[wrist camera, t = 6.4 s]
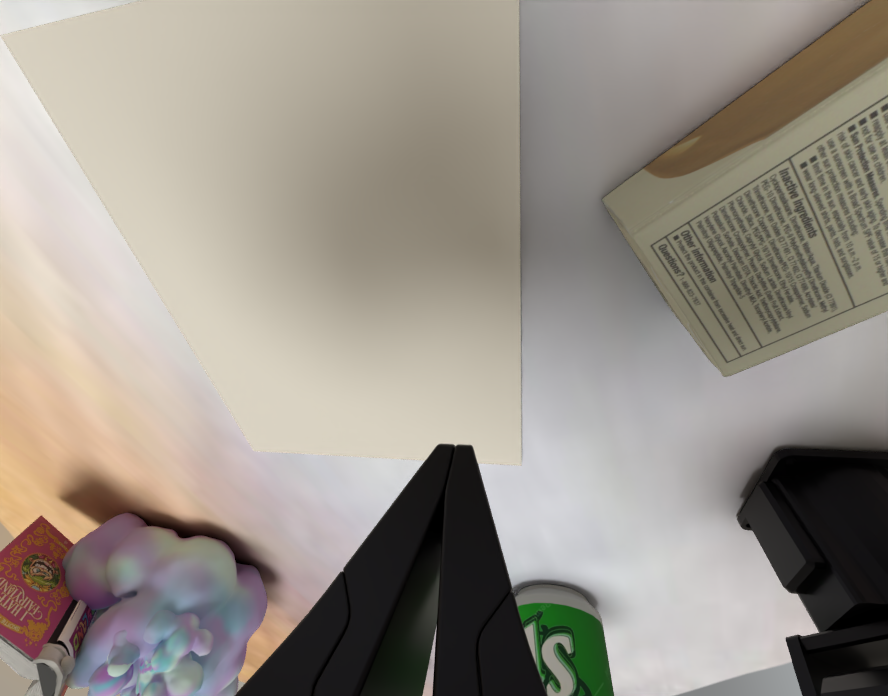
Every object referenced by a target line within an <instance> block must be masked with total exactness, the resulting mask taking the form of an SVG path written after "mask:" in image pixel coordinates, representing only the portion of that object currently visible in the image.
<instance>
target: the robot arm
mask: <svg viewBox="0 0 888 696" xmlns="http://www.w3.org/2000/svg"><path fill="white" fill-rule="evenodd" d="M737 520H738V522H739V524H740V526H741V527H742V528H743V529H745V530H752V531H753V532H754V534H755V535H756V537H757V539H758V541H759V543H760V545H761V547H762V548H763V550H764V552H765V554H766V556H767V558H768V559H769V561H770V563H771V565H772V567H773V569H774V570H775V572H776V574H777V576H778V578H779V580H780V582H781V583H782V585H783V587H784V588H785V589H786V590H787V591H788V592H790V593H794V594H798V596H799V597H800V599H801V601H802V603H803V604H804V606H805V608H806V610H807V611H808V613H809V615H810V617H811V619H812V620H813V622H814V624H815V626H816V627H817V629H818V631H819V633H816V634H811V635H807V636H800V635H794V636H790V637H786V642H787V646H788V649H789V652H790V655H791V659H792V663H793V666H794V670H795V673H796V676H797V679H798V682H799V686H800V689H801V692H802V695H803V696H888V453H886V452H861V451H836V450H810V449H783V450H779V451H778V452H776V453H775V454H774V455H773V457H772V459H771V460H770V462H769V464H768V466H767V467H766V469H765V471H764V473H763V474H762V476H761V478H760V480H759V481H758V483H757V485H756V487H755V488H754V490H753V492H752V494H751V495H750V497H749V499H748V501H747V502H746V504H745V506H744V508H743V509H742V511H741V513H740V515H739V516H738V519H737ZM343 570H344V572H343V571H342V572H340V573H339V574H338V576H337V577H336V578H335V580H334V581H333V582H332V584H331V585H330V586H329V588H328V589H327V590H326V592H325V593H324V594H323V595H322V597H321V598H320V599H319V600H318V602H317V603H316V604H315V605H314V607H313V608H312V609H311V610H310V612H309V613H308V614H307V615H306V616H305V618H304V619H303V620H302V621H301V622H300V623H299V624H298V626H297V627H296V628H295V629H294V630H293V631H292V632H291V634H290V635H289V636H288V637H287V638H286V639H285V640H284V642H283V643H282V644H281V645H280V646H279V647H278V648H277V649H276V650H275V651H274V653H273V654H272V655H271V656H270V657H269V658H268V659H267V660H266V661H265V662H264V664H263V665H262V666H261V667H260V668H259V669H258V670H257V671H256V672H255V673H254V675H253V676H252V677H251V678H250V679H249V680H248V681H247V682H246V683H245V684H244V686H243V687H242V688H241V689H240V690H239V691H238V692H237V693H236V694H235V695H234V696H422V695H423V690H424V685H425V680H426V675H427V670H428V665H429V660H430V655H431V650H432V645H433V640H434V635H435V630H436V625H437V630H436V647H435V664H434V681H433V696H548V694H547V692H546V689H545V687H544V684H543V682H542V679H541V676H540V673H539V671H538V668H537V665H536V663H535V660H534V657H533V654H532V652H531V649H530V646H529V643H528V639H527V636H526V633H525V630H524V626H523V623H522V620H521V617H520V613H519V610H518V606H517V602H516V599H515V595H514V593H513V590H512V585H511V581H510V578H509V574H508V571H507V567H506V563H505V560H504V556H503V553H502V549H501V545H500V542H499V538H498V535H497V531H496V527H495V524H494V520H493V517H492V513H491V509H490V506H489V502H488V499H487V495H486V491H485V488H484V484H483V481H482V477H481V473H480V470H479V466H478V462H477V459H476V455H475V452H474V448H473V446H472V445H465V444H457V445H456V446H455V445H454V444H438V445H437V446H436V447H435V448H434V450H433V451H432V452H431V454H430V455H429V456H428V458H427V459H426V460H425V462H424V463H423V464H422V466H421V467H420V468H419V470H418V471H417V472H416V473H415V475H414V476H413V477H412V479H411V480H410V481H409V483H408V484H407V485H406V487H405V488H404V489H403V491H402V492H401V493H400V495H399V496H398V497H397V498H396V500H395V501H394V502H393V504H392V505H391V506H390V508H389V509H388V510H387V512H386V513H385V514H384V516H383V517H382V518H381V520H380V521H379V522H378V523H377V525H376V526H375V527H374V529H373V530H372V531H371V533H370V534H369V535H368V537H367V538H366V539H365V541H364V542H363V543H362V545H361V546H360V547H359V548H358V550H357V551H356V552H355V554H354V555H353V556H352V558H351V559H350V560H349V562H348V563H347V564H346V566H345V567H344V569H343Z"/></svg>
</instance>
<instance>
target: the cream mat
mask: <svg viewBox="0 0 888 696" xmlns="http://www.w3.org/2000/svg"><path fill="white" fill-rule="evenodd" d="M0 36H1V37H2V39H3V41H4V42H5V44H6V46H7V47H8V49H9V51H10V52H11V54H12V56H13V57H14V59H15V60H16V62H17V64H18V65H19V67H20V69H21V70H22V72H23V74H24V75H25V77H26V78H27V80H28V82H29V83H30V85H31V87H32V88H33V90H34V92H35V93H36V95H37V96H38V98H39V100H40V101H41V103H42V105H43V106H44V108H45V110H46V111H47V113H48V115H49V116H50V118H51V119H52V121H53V123H54V124H55V126H56V128H57V129H58V131H59V133H60V134H61V136H62V137H63V139H64V141H65V142H66V144H67V146H68V147H69V149H70V151H71V152H72V154H73V156H74V157H75V159H76V160H77V162H78V164H79V165H80V167H81V169H82V170H83V172H84V174H85V175H86V177H87V178H88V180H89V182H90V183H91V185H92V187H93V188H94V190H95V192H96V193H97V195H98V196H99V198H100V200H101V201H102V203H103V205H104V206H105V208H106V210H107V211H108V213H109V215H110V216H111V218H112V219H113V221H114V223H115V224H116V226H117V228H118V229H119V231H120V233H121V234H122V236H123V237H124V239H125V241H126V242H127V244H128V246H129V247H130V249H131V251H132V252H133V254H134V255H135V257H136V259H137V260H138V262H139V264H140V265H141V267H142V269H143V270H144V272H145V274H146V275H147V277H148V278H149V280H150V282H151V283H152V285H153V287H154V288H155V290H156V292H157V293H158V295H159V296H160V298H161V300H162V301H163V303H164V305H165V306H166V308H167V310H168V311H169V313H170V314H171V316H172V318H173V319H174V321H175V323H176V324H177V326H178V328H179V329H180V331H181V333H182V334H183V336H184V337H185V339H186V341H187V342H188V344H189V346H190V347H191V349H192V351H193V352H194V354H195V355H196V357H197V359H198V360H199V362H200V364H201V365H202V367H203V369H204V370H205V372H206V374H207V375H208V377H209V378H210V380H211V382H212V383H213V385H214V387H215V388H216V390H217V392H218V393H219V395H220V396H221V398H222V400H223V401H224V403H225V405H226V406H227V408H228V410H229V411H230V413H231V414H232V416H233V418H234V419H235V421H236V423H237V424H238V426H239V428H240V429H241V431H242V433H243V434H244V436H245V437H246V439H247V441H248V442H249V444H250V446H251V447H252V449H253V451H261V452H279V453H298V454H316V455H334V456H353V457H371V458H389V459H408V460H426V459H427V458H428V456H429V455H430V454H431V452H432V451H433V450H434V448H435V447H436V446H437V445H438V444H454V445H455V446H456V445H457V444H465V445H472V446H473V448H474V452H475V455H476V459H477V462H478V463H481V464H499V465H518V466H521V270H520V67H519V0H141V1H137V2H133V3H129V4H125V5H121V6H117V7H113V8H109V9H105V10H101V11H97V12H93V13H89V14H85V15H81V16H77V17H73V18H69V19H65V20H61V21H56V22H52V23H48V24H44V25H40V26H36V27H32V28H28V29H24V30H20V31H16V32H12V33H8V34H4V35H0Z"/></svg>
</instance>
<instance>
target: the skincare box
mask: <svg viewBox="0 0 888 696" xmlns="http://www.w3.org/2000/svg"><path fill="white" fill-rule="evenodd" d="M602 201H603V203H604V205H605V207H606V209H607V211H608V212H609V214H610V215H611V216H612V218H613V220H614V221H615V223H616V224H617V226H618V228H619V229H620V231H621V232H622V234H623V236H624V237H625V239H626V240H627V242H628V243H629V245H630V247H631V248H632V250H633V251H634V253H635V255H636V256H637V258H638V259H639V261H640V263H641V264H642V266H643V267H644V269H645V270H646V272H647V274H648V275H649V277H650V278H651V280H652V281H653V283H654V284H655V286H656V288H657V289H658V291H659V292H660V294H661V295H662V297H663V298H664V300H665V302H666V303H667V304H668V306H669V307H670V309H671V310H672V312H673V313H674V314H675V316H676V317H677V318H678V319H679V321H680V322H681V323H682V324H683V326H684V327H685V328H686V329H687V331H688V332H689V333H690V335H691V336H692V337H693V339H694V340H695V342H696V343H697V344H698V346H699V347H700V348H701V350H702V351H703V352H704V354H705V355H706V356H707V358H708V359H709V360H710V361H711V362H712V364H713V365H715V366H716V367H717V368H718V369H719V371H720V372H721V374H722V375H723V376H724V377H727V376H731V375H733V374H736V373H738V372H741V371H743V370H746V369H748V368H750V367H753V366H755V365H758V364H760V363H763V362H765V361H768V360H770V359H772V358H775V357H777V356H780V355H782V354H785V353H787V352H789V351H792V350H794V349H797V348H799V347H802V346H804V345H806V344H809V343H811V342H813V341H816V340H818V339H821V338H823V337H826V336H828V335H831V334H833V333H835V332H838V331H840V330H843V329H845V328H847V327H850V326H852V325H855V324H857V323H860V322H862V321H864V320H867V319H869V318H872V317H874V316H876V315H879V314H881V313H884V312H886V311H888V0H871V1H869V2H868V3H867V4H865V5H864V6H863V7H861V8H860V9H859V10H857V11H856V12H855V13H853V14H852V15H850V16H849V17H848V18H846V19H845V20H844V21H842V22H841V23H840V24H838V25H837V26H836V27H834V28H833V29H831V30H830V31H829V32H827V33H826V34H825V35H823V36H822V37H821V38H819V39H818V40H817V41H815V42H814V43H813V44H811V45H810V46H809V47H807V48H806V49H804V50H803V51H802V52H800V53H799V54H797V55H796V56H795V57H793V58H792V59H791V60H789V61H788V62H787V63H785V64H784V65H782V66H781V67H780V68H778V69H777V70H776V71H774V72H773V73H772V74H770V75H769V76H768V77H766V78H765V79H764V80H762V81H761V82H760V83H758V84H757V85H755V86H754V87H753V88H751V89H750V90H749V91H747V92H746V93H745V94H743V95H742V96H741V97H739V98H738V99H737V100H735V101H734V102H733V103H731V104H730V105H729V106H727V107H726V108H724V109H723V110H722V111H720V112H719V113H718V114H716V115H715V116H714V117H712V118H711V119H710V120H708V121H707V122H706V123H704V124H703V125H701V126H700V127H699V128H697V129H696V130H695V131H693V132H692V133H691V134H689V135H688V136H687V137H685V138H684V139H683V140H681V141H680V142H679V143H677V144H676V145H674V146H673V147H672V148H670V149H669V150H668V151H666V152H665V153H663V154H662V155H661V156H659V157H658V158H657V159H655V160H654V161H653V162H651V163H650V164H648V165H647V166H646V167H644V168H643V169H642V170H640V171H639V172H638V173H636V174H635V175H633V176H632V177H631V178H629V179H628V180H627V181H625V182H624V183H623V184H621V185H620V186H618V187H617V188H616V189H614V190H613V191H612V192H610V193H609V194H608V195H607V196H605V197H604V198H603V199H602Z"/></svg>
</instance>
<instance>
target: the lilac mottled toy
mask: <svg viewBox="0 0 888 696" xmlns="http://www.w3.org/2000/svg"><path fill="white" fill-rule="evenodd" d="M266 609H267V595H266V591H265V588H264V585H263V582H262V579H261V577H260V574H259V572H258V570H257V569H256V568H255V567H254V566H253V565H244V564H239V563H236V562H235V557H234V554H233V552H232V550H231V549H230V548H229V546H228V545H227V544H226V543H225V542H223V541H221V540H218V539H214V538H210V537H206V536H201V535H200V536H194V537H190V538H184V539H183V538H179V537H178V534H177V533H176V532H175V531H174V530H172V529H166V528H162V527H158V526H147V525H146V523H145V522H144V520H142V519H141V518H139V517H138V516H137V515H135V514H131V513H123V514H119V515H117V516H115V517H113V518H111V519H110V520H108V521H106V522H105V523H104V524H102V525H101V526H100V527H98V528H97V529H96V530H94V531H92V532H90V533H89V534H88V535H87V536H85V537H84V538H82V539H80V540H79V541H78V542H77V543H76V544H73V543H72V542H71V541H69V540H68V539H67V538H66V537H65V536H64V535H63V534H62V533H60V532H59V531H58V530H57V529H56V528H55V527H54V526H53V525H51V524H50V523H49V522H48V521H47V520H46V519H45V518H44V517H43V516H40V517H39V518H38V519H36V520H35V521H34V522H33V523H32V524H31V525H30V526H29V527H27V528H26V529H25V530H24V531H23V532H22V533H21V534H20V535H18V536H17V537H16V538H15V539H14V540H13V541H12V542H11V543H9V544H8V545H7V546H6V547H5V548H4V549H3V550H2V551H1V552H0V658H1V659H2V660H3V661H4V662H5V663H6V664H8V665H9V666H10V667H11V668H12V669H13V670H14V671H15V672H17V673H18V674H19V675H20V676H22V677H24V678H28V679H32V680H33V681H32V683H31V685H30V687H29V688H28V690H27V692H26V694H25V696H64V694H65V692H66V690H67V688H68V687H70V688H77V689H81V688H85V687H88V686H89V692H88V696H115V695H117V694H119V693H121V694H120V696H234V695H235V694H236V693H237V689H238V674H239V673H240V671H241V669H242V667H243V664H244V660H245V655H246V648H247V642H248V640H249V639H250V637H251V636H252V634H253V633H254V632H255V631H256V630H257V629H258V628H259V626H260V624H261V623H262V621H263V619H264V616H265V613H266Z"/></svg>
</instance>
